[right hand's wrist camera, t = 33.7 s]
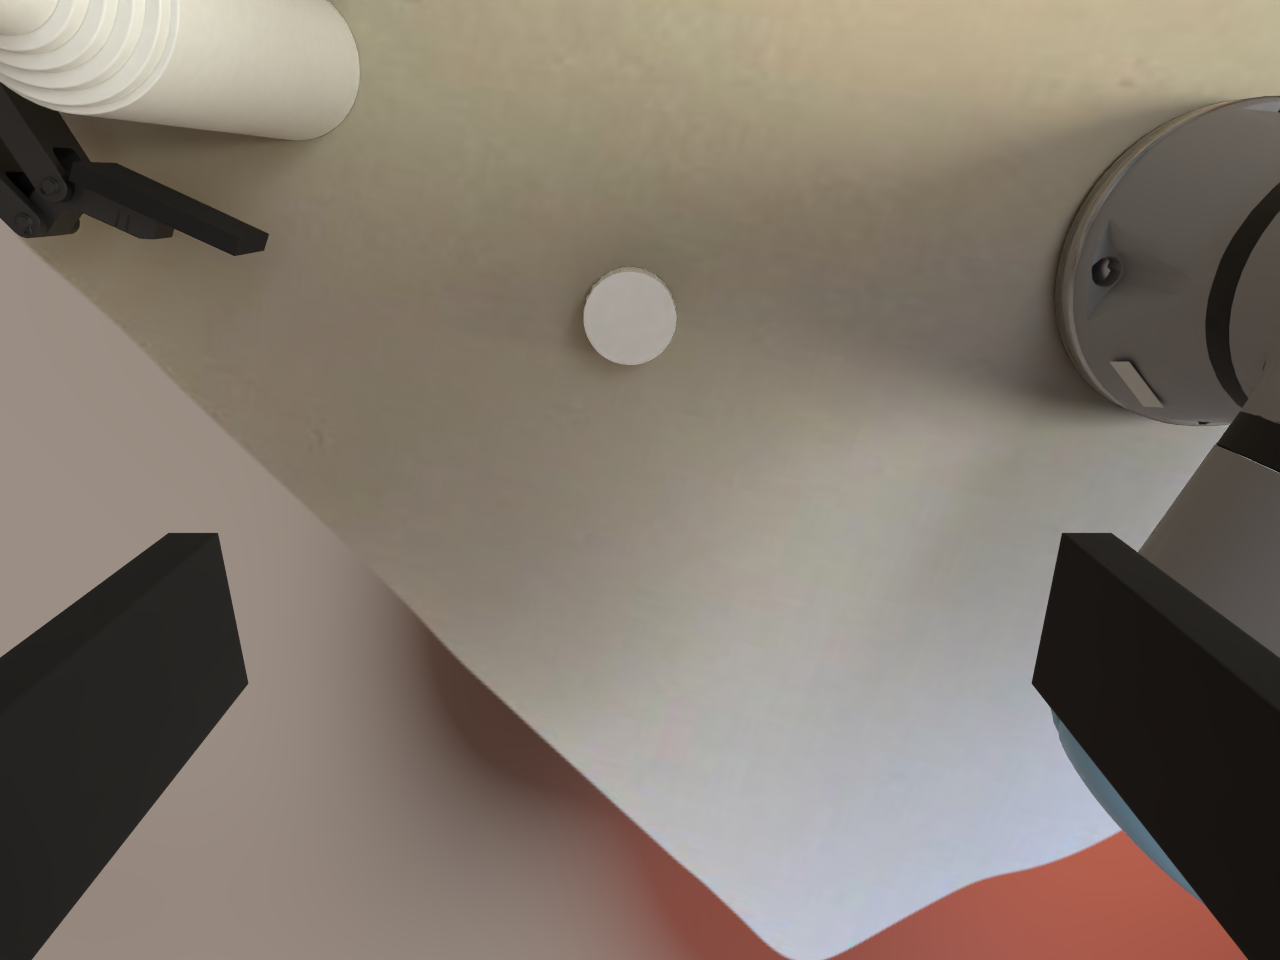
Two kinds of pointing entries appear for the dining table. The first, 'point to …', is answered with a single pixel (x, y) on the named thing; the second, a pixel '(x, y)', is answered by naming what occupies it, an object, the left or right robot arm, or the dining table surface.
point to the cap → (629, 316)
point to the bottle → (185, 62)
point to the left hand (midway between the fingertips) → (302, 80)
